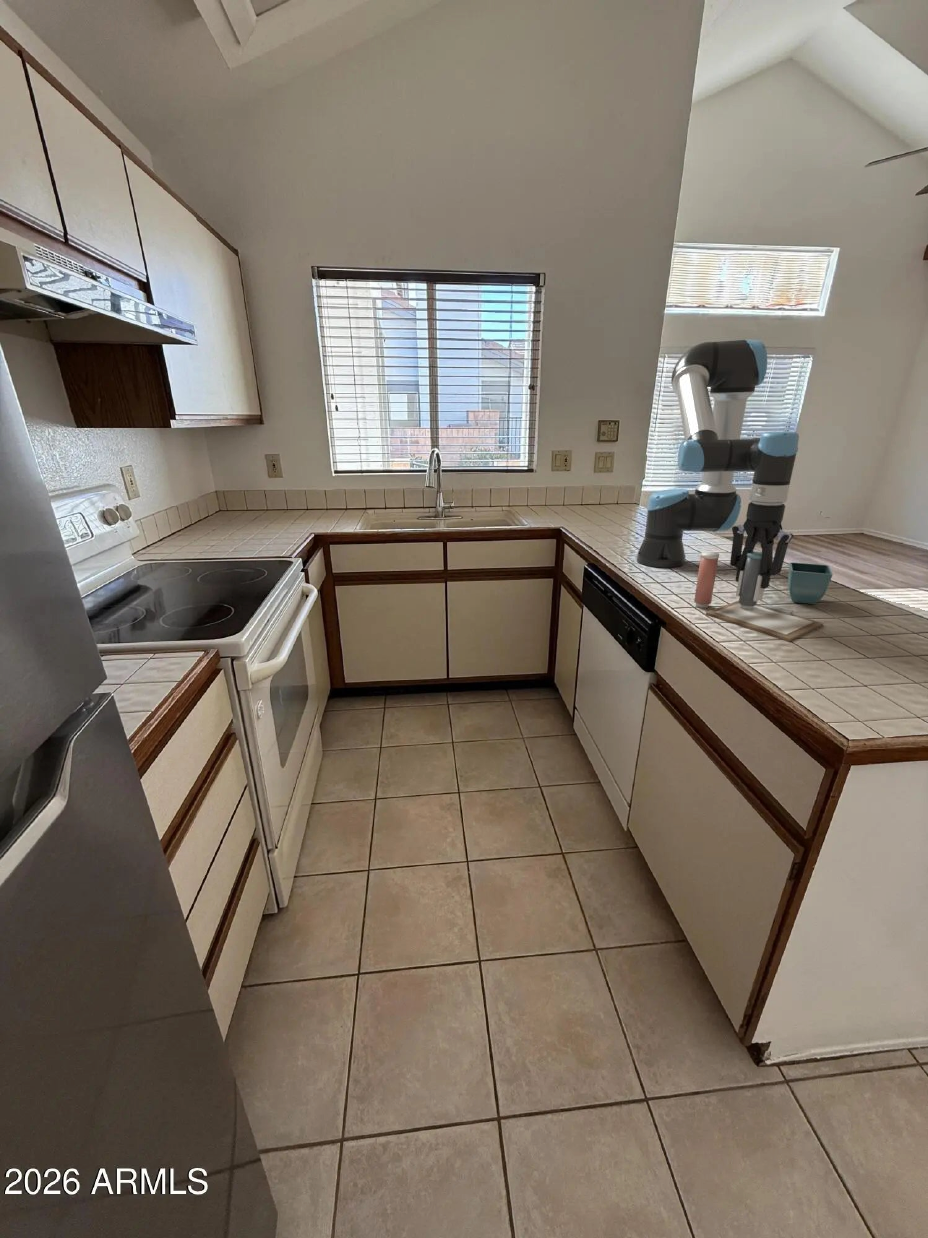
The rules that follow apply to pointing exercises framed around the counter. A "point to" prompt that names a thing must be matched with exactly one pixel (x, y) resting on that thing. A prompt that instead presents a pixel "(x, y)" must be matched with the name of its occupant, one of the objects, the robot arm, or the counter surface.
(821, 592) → the flower pot
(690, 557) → the counter surface
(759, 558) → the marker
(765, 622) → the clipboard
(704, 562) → the pink bottle
